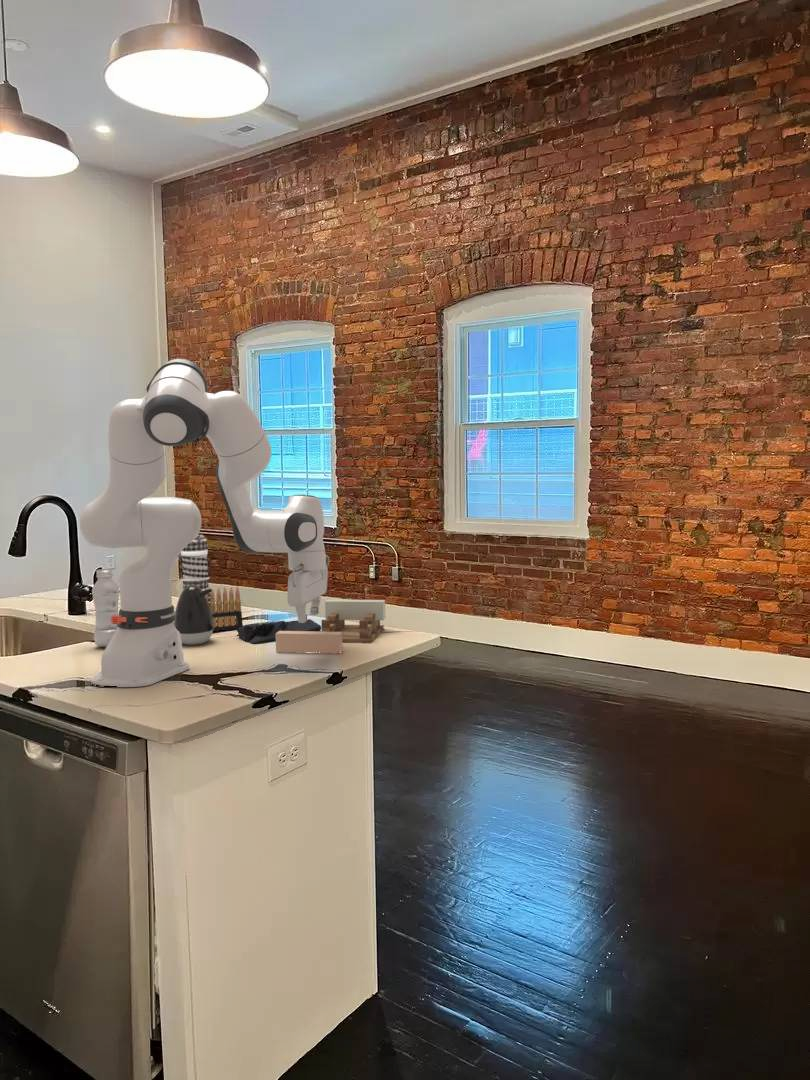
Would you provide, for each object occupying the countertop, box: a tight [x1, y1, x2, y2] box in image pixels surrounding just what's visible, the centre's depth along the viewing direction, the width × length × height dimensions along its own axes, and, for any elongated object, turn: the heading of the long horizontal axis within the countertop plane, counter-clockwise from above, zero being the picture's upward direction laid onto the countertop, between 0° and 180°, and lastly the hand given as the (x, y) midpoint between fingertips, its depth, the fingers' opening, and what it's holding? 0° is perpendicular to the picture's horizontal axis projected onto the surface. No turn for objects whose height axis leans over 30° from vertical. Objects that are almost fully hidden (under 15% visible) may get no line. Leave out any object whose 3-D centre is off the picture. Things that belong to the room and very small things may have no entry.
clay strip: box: [275, 631, 344, 654], centre depth 194 cm, size 16×3×5 cm, turn 80°
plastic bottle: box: [91, 568, 120, 648], centre depth 204 cm, size 6×7×20 cm
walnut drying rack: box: [321, 613, 385, 644], centre depth 212 cm, size 17×14×6 cm
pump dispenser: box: [173, 585, 214, 646], centre depth 206 cm, size 10×10×15 cm
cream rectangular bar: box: [324, 599, 387, 621], centre depth 216 cm, size 16×3×5 cm, turn 80°
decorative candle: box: [178, 534, 211, 604], centre depth 242 cm, size 9×9×25 cm
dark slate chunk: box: [236, 618, 322, 645], centre depth 215 cm, size 15×22×5 cm
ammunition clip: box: [205, 586, 244, 632], centre depth 222 cm, size 11×2×12 cm, turn 113°
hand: (308, 618), depth 193 cm, fingers open, 8 cm apart
